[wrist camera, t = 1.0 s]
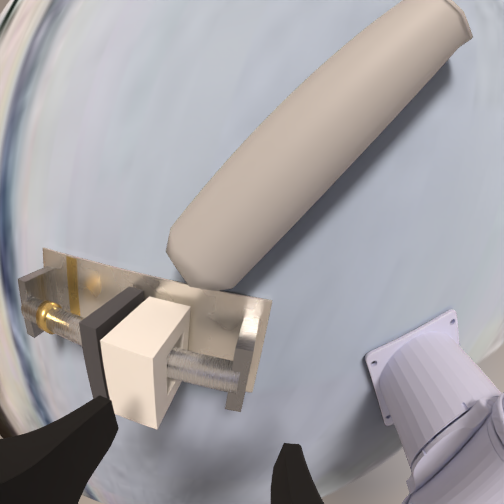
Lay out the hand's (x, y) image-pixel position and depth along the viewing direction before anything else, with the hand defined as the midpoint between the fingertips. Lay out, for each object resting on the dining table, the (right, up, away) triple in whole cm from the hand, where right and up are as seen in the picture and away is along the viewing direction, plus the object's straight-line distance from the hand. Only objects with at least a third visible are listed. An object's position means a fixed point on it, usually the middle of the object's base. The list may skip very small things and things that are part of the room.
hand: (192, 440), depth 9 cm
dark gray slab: (-6, +2, +10) cm, 12 cm away
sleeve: (-3, +2, +10) cm, 11 cm away
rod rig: (-7, +2, +10) cm, 12 cm away
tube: (+7, +16, +6) cm, 18 cm away
